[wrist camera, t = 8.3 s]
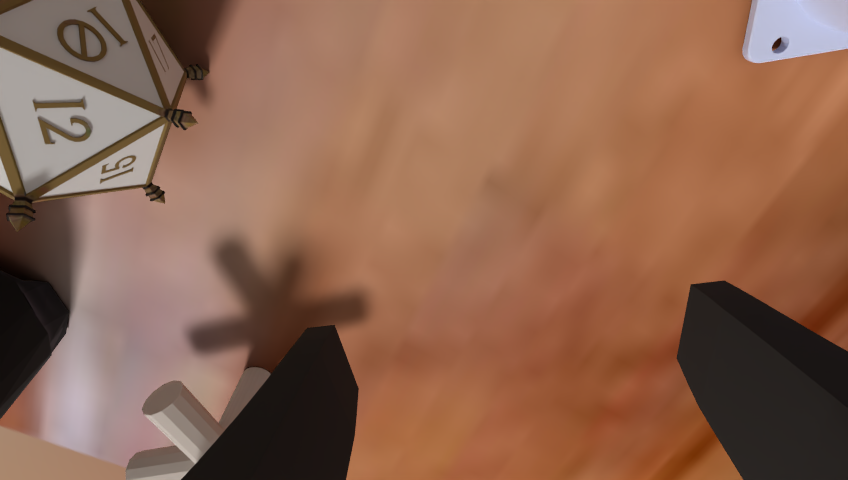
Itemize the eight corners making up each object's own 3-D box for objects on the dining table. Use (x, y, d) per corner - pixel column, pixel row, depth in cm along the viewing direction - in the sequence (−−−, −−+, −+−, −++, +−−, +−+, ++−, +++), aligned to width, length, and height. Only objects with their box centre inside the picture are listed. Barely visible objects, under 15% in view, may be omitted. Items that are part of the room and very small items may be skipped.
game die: (139, 50, 20) (-236, 52, 13) (177, -135, 14) (-494, -326, 7) (232, 220, 19) (-102, 321, 12) (313, 105, 13) (-248, 174, 6)
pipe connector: (295, 299, 23) (207, 500, 14) (365, 414, 28) (331, 613, 19) (136, 334, 25) (-23, 530, 16) (229, 436, 30) (144, 625, 21)
